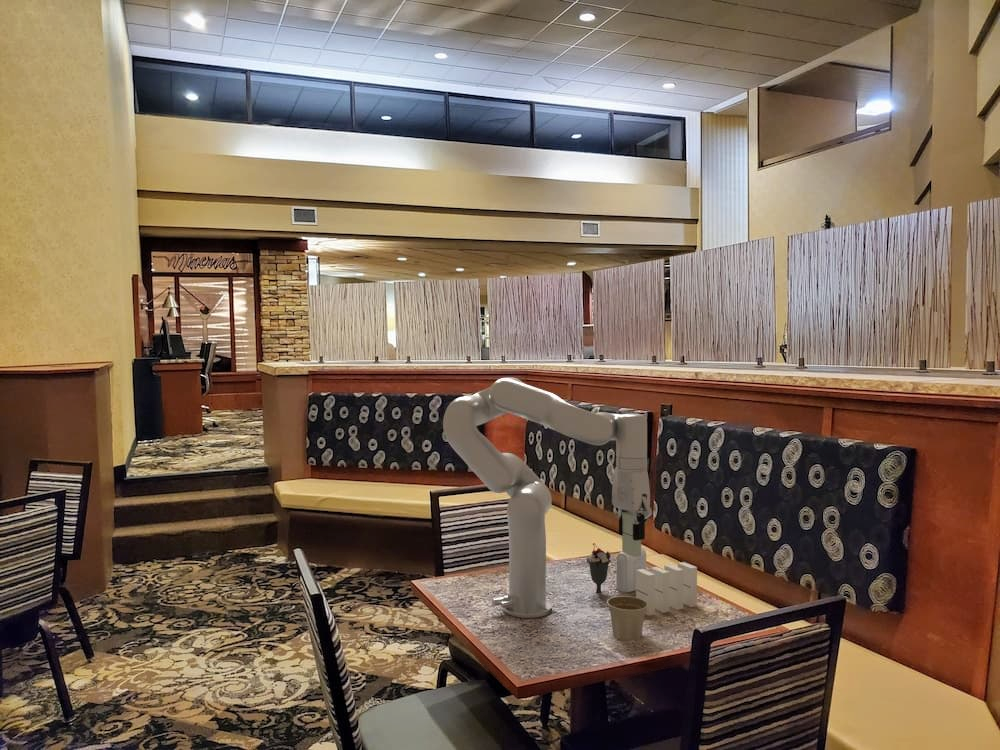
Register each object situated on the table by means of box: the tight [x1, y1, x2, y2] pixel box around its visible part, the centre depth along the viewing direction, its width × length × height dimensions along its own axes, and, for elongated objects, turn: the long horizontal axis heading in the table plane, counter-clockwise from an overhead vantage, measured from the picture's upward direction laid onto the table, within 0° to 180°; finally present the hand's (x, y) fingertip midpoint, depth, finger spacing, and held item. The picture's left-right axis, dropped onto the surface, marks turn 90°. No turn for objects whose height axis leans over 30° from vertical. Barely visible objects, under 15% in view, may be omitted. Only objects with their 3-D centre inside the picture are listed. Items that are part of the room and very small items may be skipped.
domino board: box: [644, 603, 706, 621], centre depth 172 cm, size 23×9×1 cm, turn 116°
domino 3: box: [663, 563, 683, 610], centre depth 174 cm, size 2×5×10 cm, turn 26°
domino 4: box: [677, 561, 698, 607], centre depth 176 cm, size 2×5×10 cm, turn 26°
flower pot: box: [606, 595, 648, 642], centre depth 155 cm, size 9×9×9 cm
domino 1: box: [635, 569, 655, 616], centre depth 170 cm, size 2×5×10 cm, turn 26°
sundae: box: [586, 542, 612, 595], centre depth 184 cm, size 7×7×15 cm
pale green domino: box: [621, 512, 642, 557], centre depth 168 cm, size 2×5×10 cm, turn 26°
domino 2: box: [649, 566, 669, 613], centre depth 172 cm, size 2×5×10 cm, turn 26°
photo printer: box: [616, 546, 647, 593], centre depth 189 cm, size 10×4×12 cm, turn 134°
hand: (631, 536), depth 168 cm, fingers closed on pale green domino, 4 cm apart
